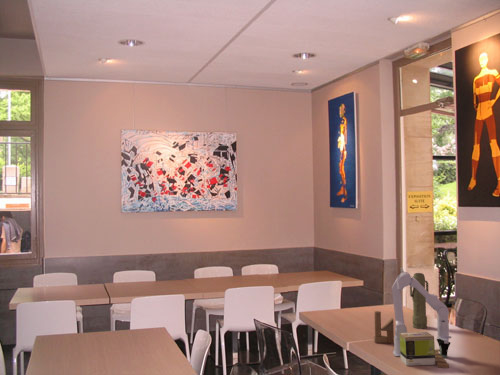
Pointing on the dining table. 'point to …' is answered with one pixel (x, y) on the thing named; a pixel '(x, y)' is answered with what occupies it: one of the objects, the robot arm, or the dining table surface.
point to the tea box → (417, 348)
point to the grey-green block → (440, 352)
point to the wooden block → (387, 327)
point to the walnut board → (440, 361)
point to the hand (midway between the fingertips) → (443, 353)
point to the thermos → (419, 303)
